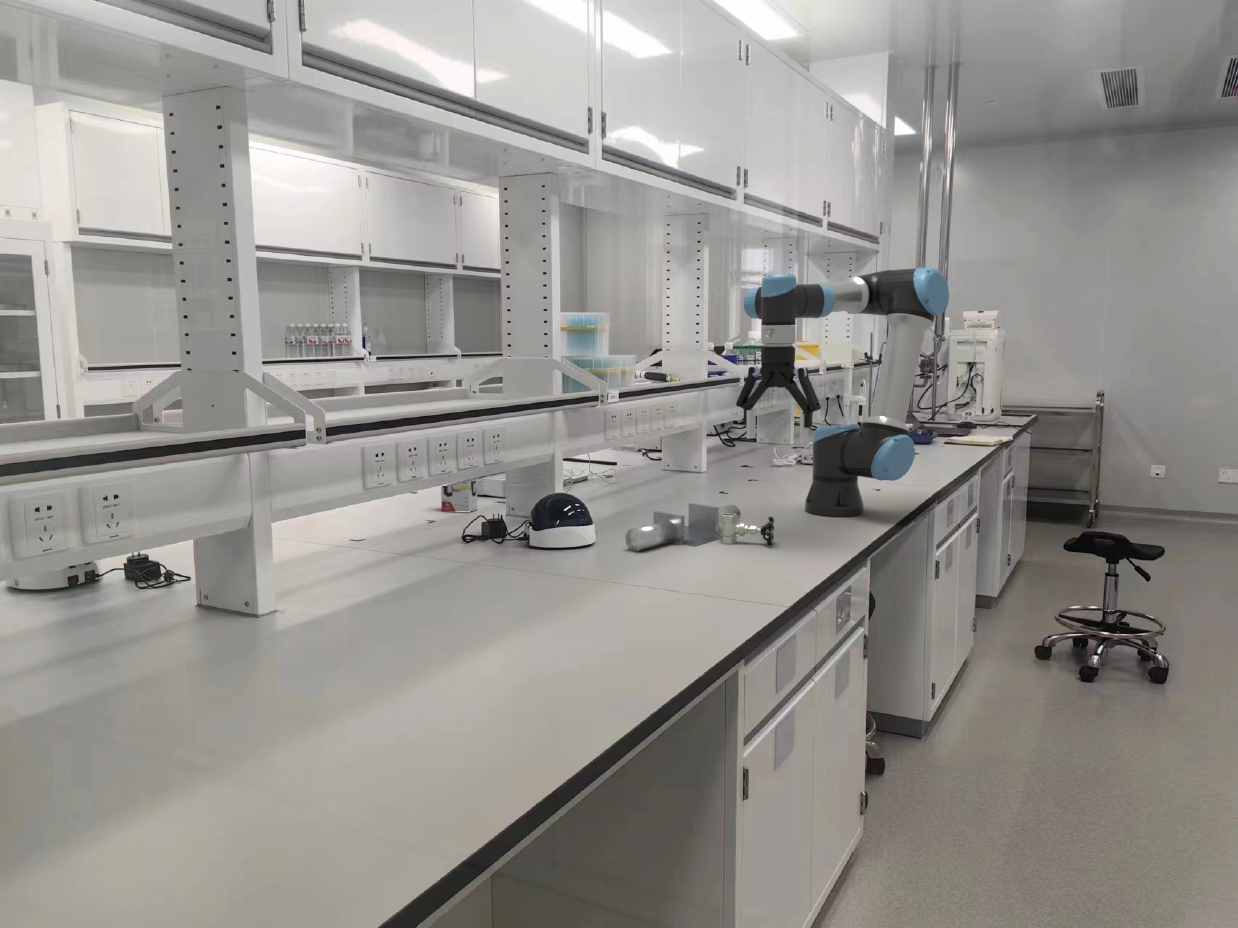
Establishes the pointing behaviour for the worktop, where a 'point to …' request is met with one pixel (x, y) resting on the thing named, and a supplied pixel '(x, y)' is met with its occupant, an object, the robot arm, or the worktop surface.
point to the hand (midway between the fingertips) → (776, 440)
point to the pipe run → (680, 527)
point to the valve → (742, 529)
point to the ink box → (459, 497)
